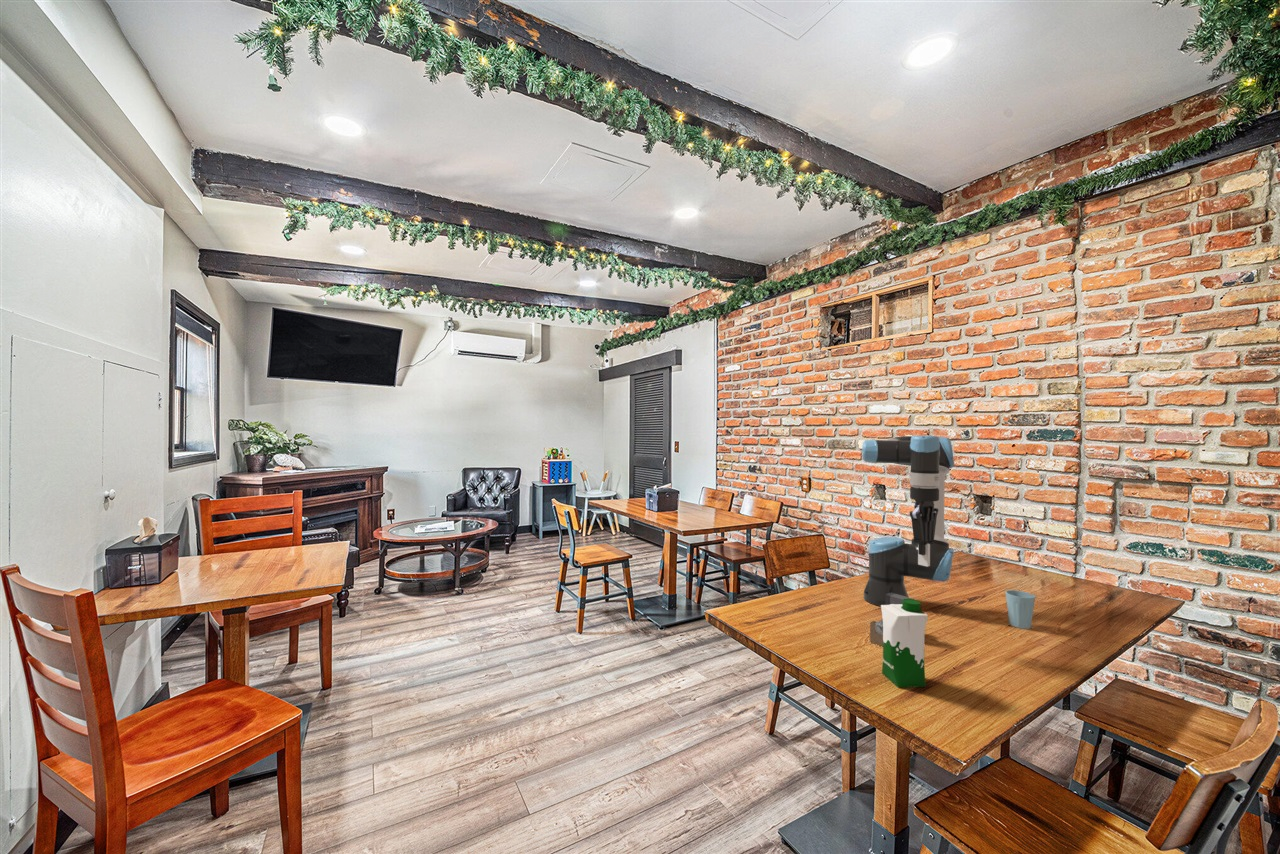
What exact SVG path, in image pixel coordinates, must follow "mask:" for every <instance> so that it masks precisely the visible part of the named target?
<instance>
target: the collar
mask: <svg viewBox="0 0 1280 854" xmlns="http://www.w3.org/2000/svg"><path fill="white" fill-rule="evenodd" d="M903 599H914V600H916V599H915V598H912V597H906V596H902V595H898V594H895V593H888V594H886V595H885V605H890V604H902V603H903Z"/></svg>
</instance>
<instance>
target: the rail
mask: <svg viewBox="0 0 1280 854" xmlns="http://www.w3.org/2000/svg"><path fill="white" fill-rule="evenodd" d="M869 623H870V624H869V628H870V629H869V643H870V642H871V644H873V645H876V644H877V645H876V646H878V645H879V647H881V646H882V648H883V619H881V620H879V621H875V620H872V621H870V622H869Z"/></svg>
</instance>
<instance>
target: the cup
mask: <svg viewBox="0 0 1280 854" xmlns="http://www.w3.org/2000/svg"><path fill="white" fill-rule="evenodd" d="M1005 598H1006V607H1007V615H1008V622H1009V625H1010V626H1011V627H1015V628H1017V629H1022V630H1029V629H1031V628H1032V623H1033V622H1032V621H1033V615H1034V610H1035V609H1034V608H1035V607H1034V606H1035V603H1036V596H1035V595H1034V594H1032V593H1030V592H1026V591H1022V590H1016V589H1007V590H1005Z"/></svg>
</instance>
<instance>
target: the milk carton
mask: <svg viewBox="0 0 1280 854" xmlns="http://www.w3.org/2000/svg"><path fill="white" fill-rule="evenodd" d="M914 599H915V598H913V599H903V603H902V604H890V605H881V606H880V610H881V616H882V620H883V647H882V667H881V668H882V670H881V671H882V672H881V674H882V675H883V674H884V675H885V676H884V675H883V676H884V677H886V678H887V679H888V680H889V681H890V682H891V681H892V682H891V683H893V684H894V685H895V686H896V687H897V688H899V689H900V688H902V689H903V688H904V689H905V688H924V687H926V675H925V674H926V673H925V670H926V669H925V631H926V627H927V622H928V617H929V615H928V614H927V613H925V612H923V611H922V610H921V602H920V601H918V600H917V599H915V600H914Z"/></svg>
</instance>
